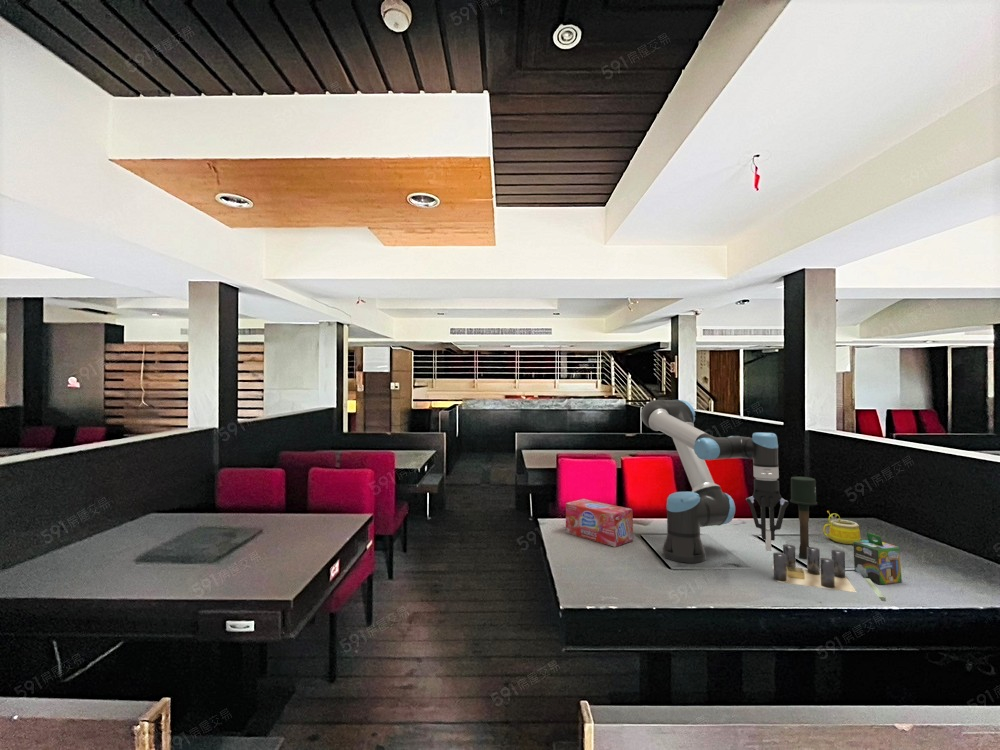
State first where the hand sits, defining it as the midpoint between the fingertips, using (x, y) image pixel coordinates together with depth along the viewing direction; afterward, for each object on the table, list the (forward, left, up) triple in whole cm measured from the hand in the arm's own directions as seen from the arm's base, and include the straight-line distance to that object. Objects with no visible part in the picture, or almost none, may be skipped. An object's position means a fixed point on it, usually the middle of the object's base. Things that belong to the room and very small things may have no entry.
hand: (768, 549), depth 164 cm
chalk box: (+33, +12, -9) cm, 36 cm away
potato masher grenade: (+14, +23, -9) cm, 29 cm away
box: (-62, +22, -10) cm, 67 cm away
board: (+16, 0, -9) cm, 18 cm away
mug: (+32, +56, -9) cm, 65 cm away
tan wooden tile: (+8, 0, -8) cm, 11 cm away
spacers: (+12, 0, -8) cm, 14 cm away
